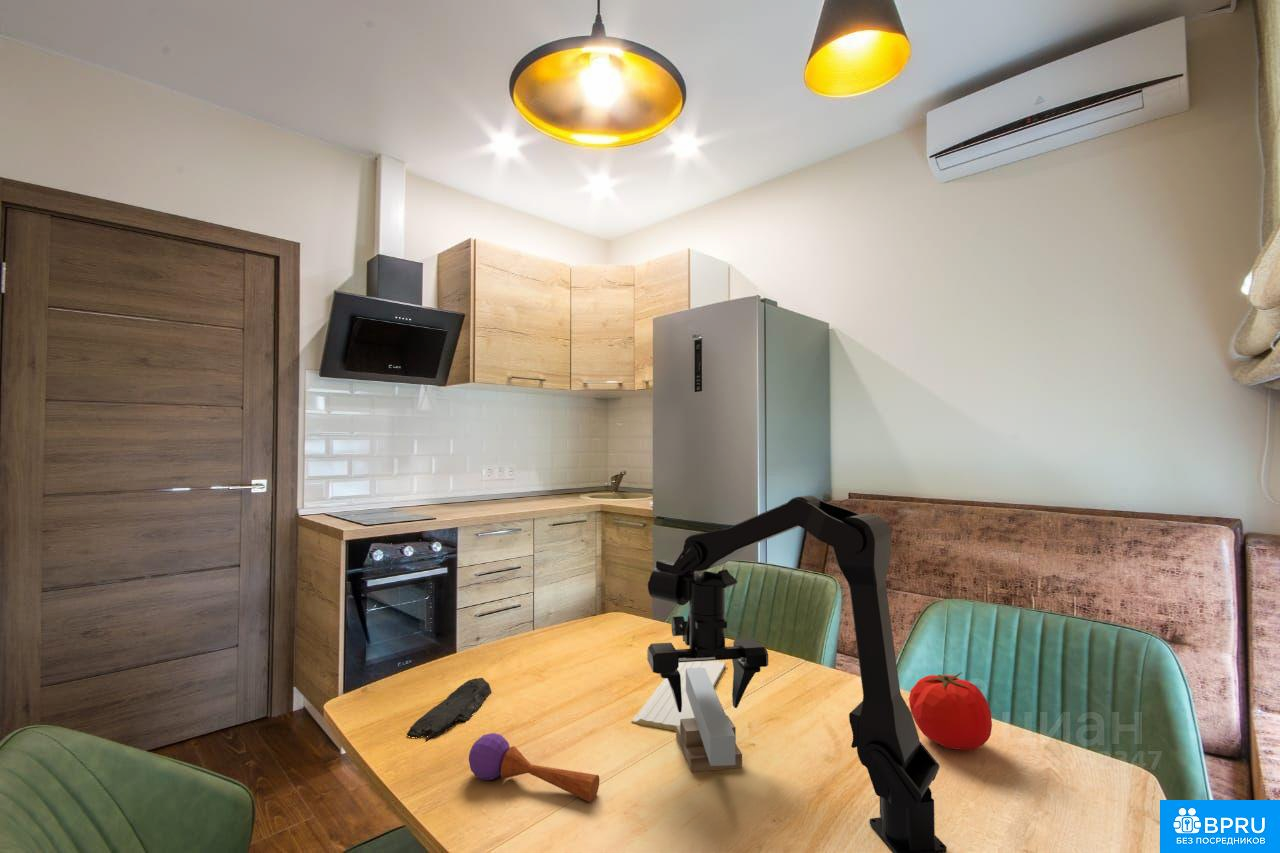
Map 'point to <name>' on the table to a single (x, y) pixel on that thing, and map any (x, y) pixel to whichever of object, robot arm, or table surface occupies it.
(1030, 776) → the table surface
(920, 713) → the tomato
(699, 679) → the slate stick
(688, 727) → the ridge block
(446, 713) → the wood
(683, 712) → the baseboard molding
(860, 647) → the robot arm
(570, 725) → the table surface
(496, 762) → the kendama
